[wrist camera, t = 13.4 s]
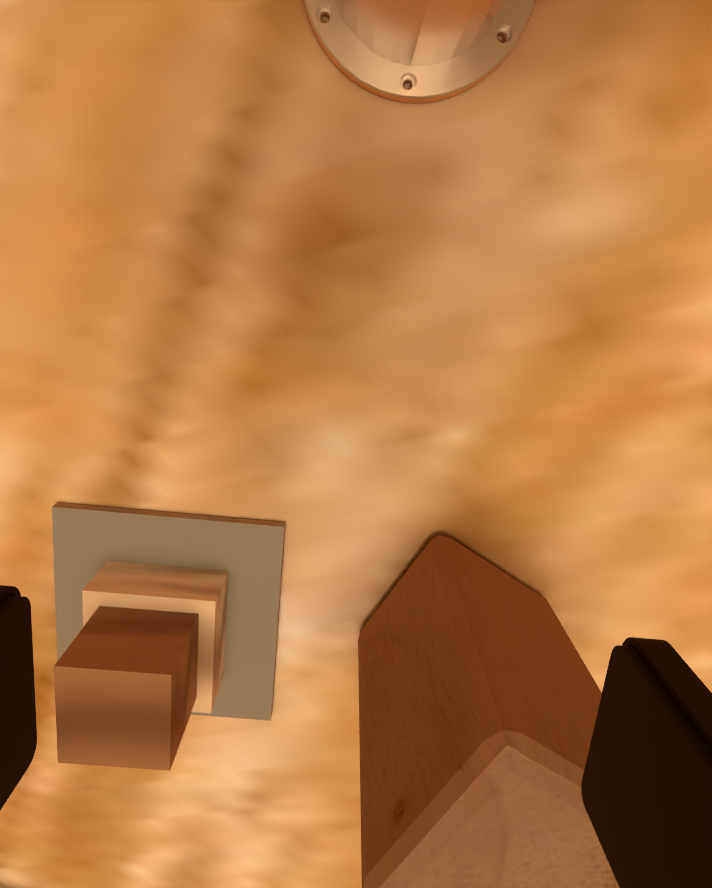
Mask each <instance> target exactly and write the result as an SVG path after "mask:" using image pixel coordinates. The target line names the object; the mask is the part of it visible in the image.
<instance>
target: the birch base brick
mask: <svg viewBox="0 0 712 888" xmlns="http://www.w3.org/2000/svg"><path fill="white" fill-rule="evenodd" d="M227 589H228V571H223V570H211V569H199V568H188V567H176V566H164V565H152V564H140V563H128V562H116V561H107V562H106V563H105V564H104V565H103V566H102V568H101V569H100V570H99V571H98V572H97V574H96V575H95V576H94V577H93V578H92V579H91V581H90V582H89V583H88V584H87V585H86V587H85V588H84V589H83V590H82V603H83V627H84V626H85V624H86V623H87V622H88V620H89V619H90V618H91V616H92V615H93V614H94V612H95V611H96V610H97V608H98V607H99V606H108V607H121V608H134V609H146V610H159V611H172V612H184V613H197V614H199V628H198V663H197V698H196V701H195V703H194V706H193V709H192V712H199V713H211V712H212V709H213V706H214V703H215V700H216V697H217V694H218V691H219V687H220V684H221V681H222V678H223V675H224V655H225V633H226V611H227Z"/></svg>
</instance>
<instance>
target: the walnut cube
mask: <svg viewBox="0 0 712 888" xmlns="http://www.w3.org/2000/svg"><path fill="white" fill-rule="evenodd" d="M198 628H199V614H197V613H184V612H172V611H159V610H146V609H134V608H121V607H108V606H99V607H98V608H97V610H96V611H95V612H94V614H93V615H92V616H91V618H90V619H89V620H88V622H87V623H86V624H85V626H84V627H83V628H82V630H81V631H80V632H79V634H78V635H77V636H76V638H75V639H74V640H73V642H72V643H71V644H70V646H69V647H68V648H67V650H66V651H65V652H64V653H63V655H62V656H61V657H60V659H59V660H58V661H57V663H56V664H55V665H54V678H55V702H56V726H57V750H58V763H71V764H85V765H99V766H113V767H127V768H141V769H155V770H169V771H170V769H171V766H172V764H173V761H174V758H175V755H176V753H177V750H178V747H179V744H180V742H181V739H182V736H183V733H184V731H185V728H186V725H187V723H188V720H189V717H190V714H191V712H192V709H193V706H194V703H195V701H196V698H197V663H198Z"/></svg>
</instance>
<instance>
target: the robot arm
mask: <svg viewBox="0 0 712 888" xmlns="http://www.w3.org/2000/svg"><path fill="white" fill-rule="evenodd" d="M535 1H536V0H304V4H305V7H306V11H307V15H308V18H309V22H310V24H311V26H312V28H313V30H314V32H315V35H316V37H317V39H318V41H319V43H320V45H321V46H322V48H323V49H324V50H325V52H326V53H327V55H328V56H329V57H330V59H331V60H332V62H333V63H334V64H335V65H336V66H337V67H338V68H339V69H340V70H341V71H342V72H343V73H344V74H345V75H346V76H347V77H348V78H349V79H350V80H352V81H353V82H355V83H357V84H358V85H360V86H361V87H363V88H364V89H366V90H367V91H369V92H371V93H374V94H377V95H379V96H382V97H384V98H387V99H389V100H396V101H402V102H408V103H420V102H434V101H438V100H441V99H445V98H449V97H453V96H455V95H457V94H459V93H461V92H463V91H465V90H467V89H469V88H471V87H473V86H475V85H476V84H477V83H479V82H480V81H481V80H483V79H484V78H485V77H486V76H488V75H489V74H490V73H492V72H493V71H494V69H495V68H496V67H497V66H498V65H499V64H500V63H501V62H502V61H503V60H504V58H505V57H506V56H507V55H508V54H509V53H510V51H511V50H512V48H513V47H514V46H515V44H516V43H517V41H518V40H519V38H520V36H521V34H522V32H523V30H524V28H525V26H526V24H527V22H528V20H529V18H530V17H531V14H532V11H533V7H534V4H535ZM323 15H327V16H328V17H329V18H330V19H329V21H328V22H327V23H322V22H321V21H320V19H321V17H322V16H323ZM498 35H503V36H504V38H505V42H504V43H501V42H499V41H498V39H497V36H498ZM407 81H408V82H410V83H411V85H412V88H411V89H410V90H405V89H404V88H403V83H404V82H407ZM36 744H37V730H36V709H35V688H34V667H33V645H32V624H31V606H30V601H29V599H28V598H27V597H21V595H20V592H19V590H18V589H17V588H16V587H13V586H1V585H0V810H1V808H2V807H3V805H4V804H5V802H6V801H7V799H8V798H9V796H10V795H11V793H12V792H13V790H14V788H15V787H16V785H17V784H18V782H19V781H20V779H21V778H22V776H23V775H24V773H25V772H26V770H27V769H28V767H29V765H30V763H31V761H32V759H33V756H34V753H35V750H36ZM581 792H582V799H583V804H584V807H585V809H586V812H587V814H588V816H589V818H590V821H591V823H592V825H593V828H594V830H595V832H596V835H597V837H598V839H599V842H600V844H601V846H602V849H603V851H604V853H605V855H606V858H607V860H608V862H609V865H610V867H611V869H612V872H613V874H614V876H615V879H616V881H617V883H618V886H619V888H712V693H711V692H710V691H709V689H708V688H707V687H706V686H705V685H704V684H703V682H702V681H701V680H700V679H699V678H698V677H697V675H696V674H695V673H694V672H693V671H692V669H691V668H690V667H689V666H688V665H687V664H686V662H685V661H684V660H683V659H682V658H681V656H680V655H679V654H678V653H677V652H676V651H675V649H674V648H673V647H672V646H671V645H670V644H669V643H668V642H667V641H664V640H656V639H644V638H632V637H629V638H627V639H626V640H625V641H624V642H623V644H622V646H618V645H617V646H615V647H614V649H613V650H612V653H611V657H610V661H609V665H608V670H607V674H606V678H605V683H604V687H603V691H602V696H601V700H600V704H599V708H598V713H597V717H596V721H595V726H594V730H593V734H592V738H591V743H590V747H589V751H588V756H587V760H586V764H585V768H584V773H583V777H582V783H581Z"/></svg>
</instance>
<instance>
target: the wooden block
mask: <svg viewBox="0 0 712 888" xmlns="http://www.w3.org/2000/svg"><path fill="white" fill-rule="evenodd" d="M358 660H359V726H360V791H361V856H362V888H619V886H618V883H617V881H616V879H615V876H614V874H613V872H612V869H611V867H610V865H609V862H608V860H607V858H606V855H605V853H604V851H603V849H602V846H601V844H600V842H599V839H598V837H597V835H596V832H595V830H594V828H593V825H592V823H591V821H590V818H589V816H588V814H587V812H586V809H585V807H584V804H583V799H582V792H581V783H582V777H583V773H584V768H585V764H586V760H587V756H588V751H589V747H590V743H591V738H592V734H593V730H594V726H595V721H596V717H597V713H598V708H599V704H600V700H601V696H602V693H601V691H600V689H599V688H598V686H597V684H596V683H595V681H594V679H593V677H592V676H591V674H590V672H589V671H588V669H587V667H586V666H585V664H584V662H583V660H582V659H581V657H580V655H579V654H578V652H577V650H576V649H575V647H574V645H573V643H572V642H571V640H570V638H569V637H568V635H567V633H566V632H565V630H564V628H563V627H562V625H561V623H560V621H559V620H558V618H557V616H556V615H555V613H554V611H553V610H552V608H551V606H550V605H549V603H548V602H547V600H546V599H545V598H543V597H542V596H540V595H538V594H537V593H535V592H534V591H532V590H531V589H529V588H528V587H526V586H525V585H523V584H521V583H520V582H518V581H517V580H515V579H514V578H512V577H511V576H509V575H508V574H506V573H504V572H503V571H501V570H500V569H498V568H497V567H495V566H494V565H492V564H490V563H489V562H487V561H486V560H484V559H483V558H481V557H480V556H478V555H477V554H475V553H473V552H472V551H470V550H469V549H467V548H466V547H464V546H463V545H461V544H460V543H458V542H456V541H455V540H453V539H452V538H449V537H445V536H442V535H438V536H436V537H435V538H433V539H432V540H431V541H430V542H429V543H428V544H427V545H426V547H425V548H424V549H423V551H422V552H421V553H420V555H419V556H418V557H417V558H416V560H415V561H414V562H413V564H412V565H411V566H410V568H409V569H408V570H407V571H406V573H405V574H404V575H403V577H402V578H401V579H400V580H399V582H398V583H397V584H396V586H395V587H394V588H393V590H392V591H391V592H390V593H389V595H388V596H387V597H386V599H385V600H384V601H383V603H382V604H381V605H380V606H379V608H378V609H377V610H376V612H375V613H374V614H373V615H372V617H371V618H370V619H369V621H368V622H367V623H366V625H365V626H364V627H363V628H362V630H361V631H360V635H359V639H358Z"/></svg>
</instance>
